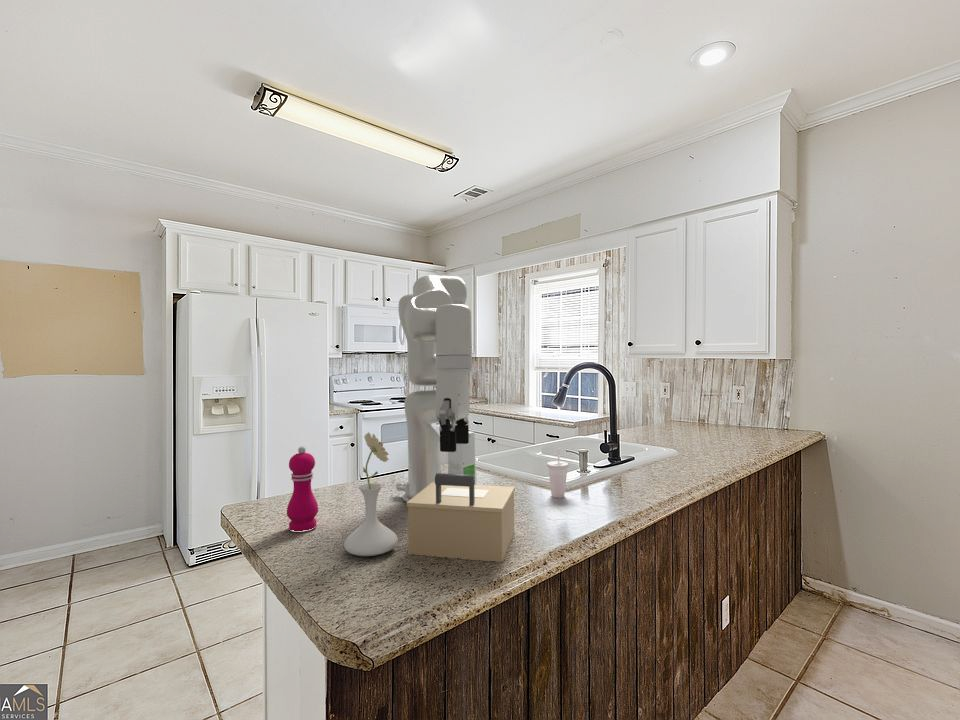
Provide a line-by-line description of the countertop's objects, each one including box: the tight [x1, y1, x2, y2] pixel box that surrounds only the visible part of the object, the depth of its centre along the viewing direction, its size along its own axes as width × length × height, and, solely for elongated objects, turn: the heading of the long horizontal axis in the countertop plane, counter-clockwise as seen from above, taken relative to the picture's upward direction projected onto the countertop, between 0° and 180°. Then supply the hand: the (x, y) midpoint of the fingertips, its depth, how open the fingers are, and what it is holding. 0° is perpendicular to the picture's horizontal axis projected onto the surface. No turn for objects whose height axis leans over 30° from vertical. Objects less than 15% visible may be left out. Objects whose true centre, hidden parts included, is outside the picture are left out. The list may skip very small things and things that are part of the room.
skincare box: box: [447, 431, 476, 476], centre depth 162 cm, size 8×7×16 cm
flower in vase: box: [343, 431, 399, 557], centre depth 102 cm, size 13×11×25 cm
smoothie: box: [546, 447, 569, 499], centre depth 139 cm, size 6×6×14 cm
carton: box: [407, 492, 515, 563], centre depth 104 cm, size 20×16×10 cm
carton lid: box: [406, 472, 516, 513], centre depth 104 cm, size 20×16×7 cm
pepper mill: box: [286, 446, 319, 531], centre depth 114 cm, size 7×7×20 cm
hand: (455, 447), depth 97 cm, fingers open, 9 cm apart
